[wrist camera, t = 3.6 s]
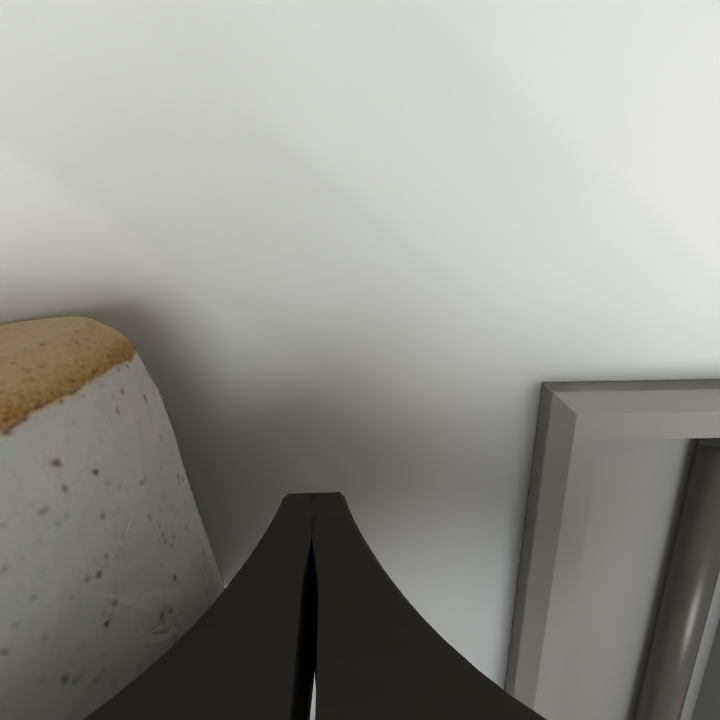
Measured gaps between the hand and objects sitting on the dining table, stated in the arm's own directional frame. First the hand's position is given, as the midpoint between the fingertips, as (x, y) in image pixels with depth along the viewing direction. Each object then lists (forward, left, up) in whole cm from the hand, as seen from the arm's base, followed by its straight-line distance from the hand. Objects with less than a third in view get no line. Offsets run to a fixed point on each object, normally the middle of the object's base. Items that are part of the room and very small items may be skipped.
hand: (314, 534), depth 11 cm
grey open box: (-6, -8, -2) cm, 10 cm away
